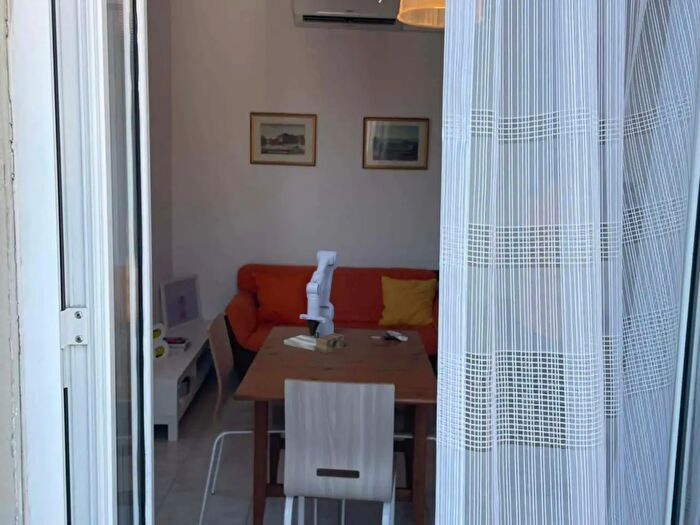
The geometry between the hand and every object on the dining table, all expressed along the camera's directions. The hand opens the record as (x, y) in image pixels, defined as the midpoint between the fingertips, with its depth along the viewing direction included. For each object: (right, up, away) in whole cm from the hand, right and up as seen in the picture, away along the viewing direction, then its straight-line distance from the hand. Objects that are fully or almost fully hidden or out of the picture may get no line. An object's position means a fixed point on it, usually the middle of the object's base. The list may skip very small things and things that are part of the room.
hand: (312, 335), depth 288 cm
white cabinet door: (0, -5, +1) cm, 5 cm away
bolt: (+5, -3, -3) cm, 7 cm away
